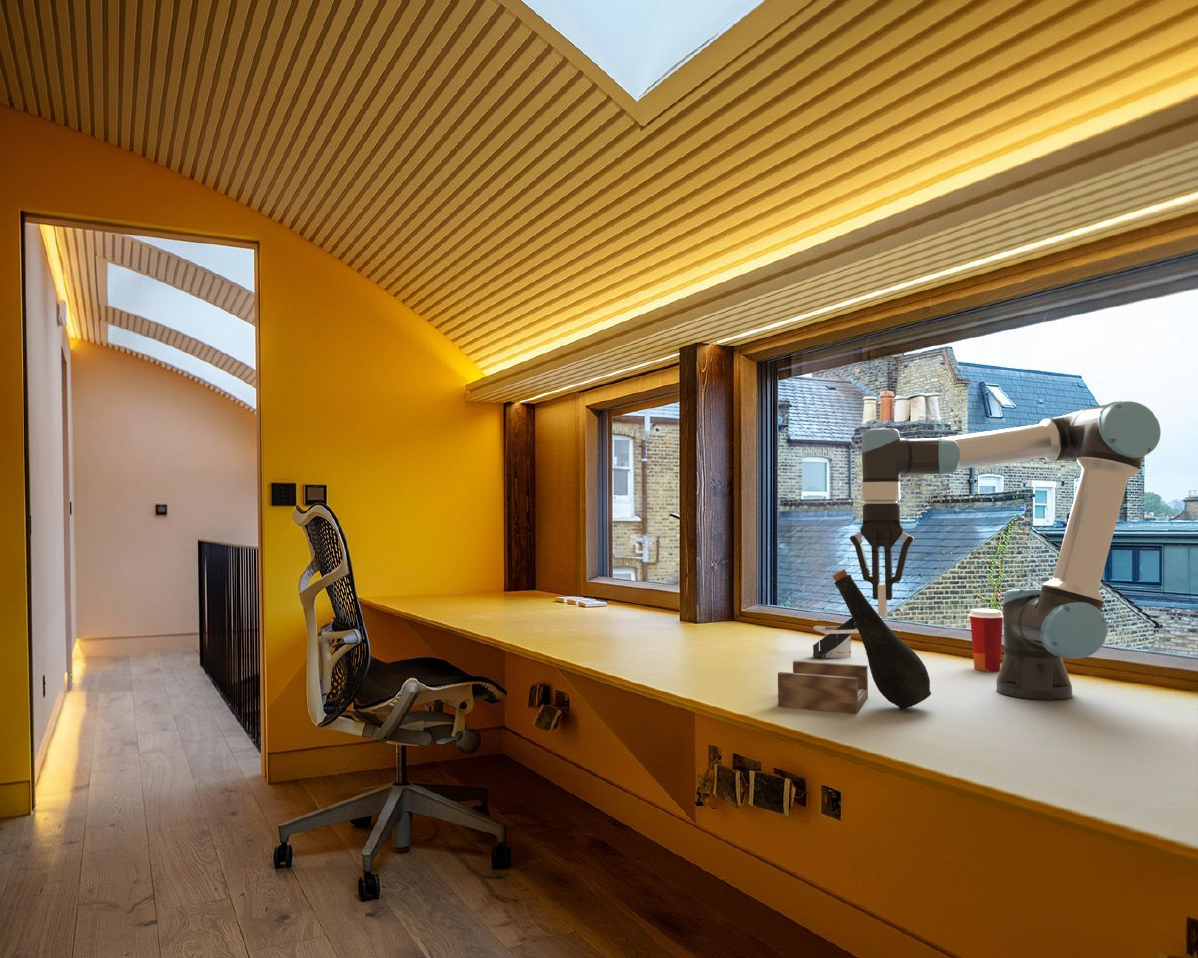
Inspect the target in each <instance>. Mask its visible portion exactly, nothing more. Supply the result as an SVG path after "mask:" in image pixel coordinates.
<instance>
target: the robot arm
mask: <svg viewBox="0 0 1198 958" xmlns="http://www.w3.org/2000/svg"><path fill="white" fill-rule="evenodd" d="M1160 440H1161V426H1160V422H1159V420H1158V418H1157V417H1156V416H1155V414H1154V413H1153V411H1152V410H1151V409H1150V408H1148V407H1147V406H1146V405H1144V404H1142V403H1139V402H1137V401H1131V400H1130V401H1129V400H1125V401H1122V400H1121V401H1112V402H1109V403H1108V404H1104V405H1098V406H1093V407H1092V406H1091V407H1087V408H1083V409H1081V410H1078V411H1074V412H1071V413H1068V414H1064V415H1061V416H1056V417H1052V418H1051V417H1050V418H1044V419H1042V420H1041V421H1040V423H1039V424H1032V425H1025V426H1019V427H1009V428H1003V429H997V430H989V431H988V430H987V431H982V432H975V433H968V434H960V435H953V436H945V437H936V438H935V437H934V438H931V437H930V438H904V437H902V438H901V436H900V431H899V429H897V428H871V429H870V428H869V429H867V430H865V431H864V432H863V433H862V438H861V441H862V442H861V451H860V453H861V462H862V463H861V464H862V465H861V466H862V468H861V469H862V470H861V471H862V483H861V484H862V490H861V491H862V501H863V502H865V503H864V504H863V505H862V525H861V527H860V531H859V532H857V533H856V534H853V535H851V536H850V537H849V540H850V542H851V543H852V545H853V546H854V548H855V552H856V556H857V560H858V564H859V568H860V571H861V575H862V579H863V580H864V581H865V582H868V583H870V584H871V586H872V599H873V600H877V614H878V616H880V617H883V618H885V617H887V616H888V601H892V599H893V585H894V584H896V583H899V582H900V581H901V580H902V577H903V573H904V570H905V564H906V561H907V558H908V553H909V549H910V546H911V545H912V543H914V540H915V537H914V536H912V535H909V534H908V533H906V532H905V531H904V529H903V526H902V523H901V505H900V503H898V502H899V501H900V500H901V478H900V477H902V478H907V477H913V476H922V475H923V476H925V475H939V476H940V475H941V476H942V475H949V474H950V475H951V474H954V473H955V472H957V470H963V469H964V470H965V469H970V468H978V467H979V468H980V467H985V466H994V465H1001V464H1008V463H1009V464H1010V463H1016V462H1023V461H1024V462H1025V461H1031V460H1036V459H1037V460H1039V459H1045V460H1046V461H1048V462H1058V461H1059V462H1060V461H1075V460H1076V462H1077V463H1078V465H1079V466H1080V468H1081V473H1080V477H1079V480H1078V483H1077V487H1076V490H1075V491H1076V492H1075V495H1074V499H1073V503H1072V506H1071V510H1070V514H1069V516H1068V517H1069V518H1068V520H1067V524H1066V525H1067V526H1066V527H1065V533H1064V535H1063V539H1062V543H1061V547H1060V550H1059V555H1058V559H1057V561H1056V566H1055V569H1054V573H1053V576H1052V578H1050V580H1048V581H1046V582H1043V584H1042V586H1041V588H1026V589H1025V588H1023V589H1021V588H1020V589H1019V588H1018V589H1008V590H1006V591H1005V592H1004V593H1003V601H1002V606H1001V607H1002V615H1003V621H1002V622H1003V648H1004V652H1003V653H1004V654H1003V660H1002V661H1001V665H1000V671H998V675H997V677H996V681H995V683H996V691H997V693H1001V694H1003V695H1006V696H1010V697H1015V698H1022V699H1029V700H1042V701H1043V700H1045V701H1046V700H1049V701H1051V700H1054V701H1056V700H1064V699H1069V698H1072V697H1073V686H1072V685H1073V684H1072V682H1071V679H1070V676H1069V674H1068V671H1067V667H1066V665H1065V663H1064V660H1063V658H1064V659H1071V660H1072V659H1073V660H1077V659H1078V660H1079V659H1080V660H1081V659H1085V658H1087V657H1089V656H1091V655H1093V654H1095V653H1096V652H1098V651H1099V650H1100V649H1101V648H1102V647H1103V645H1104V643H1105V641H1106V640H1107V636H1108V624H1107V621H1106V619H1105V617H1104V616H1105V615H1104V614H1103V612H1102V611H1103V608H1104V603H1105V599H1104V598H1103V596H1102V594H1101V593H1100V590H1099V589H1100V584H1101V581H1102V578H1103V574H1104V571H1105V570H1104V569H1105V566H1106V563H1107V560H1108V559H1107V558H1108V556H1109V553H1110V548H1111V544H1112V540H1113V536H1114V533H1115V530H1116V526H1117V522H1118V518H1119V514H1120V512H1121V511H1120V510H1121V507H1122V503H1123V499H1124V496H1125V492H1126V488H1127V484H1128V481H1129V479H1130V478H1131V477H1134V476H1135V475H1137V474H1138V473H1140V470H1141V467H1142V463H1143V459H1144V457H1145V456H1147V455H1149V454H1150V453H1152V452H1153V451H1154V450H1155V449H1156V448H1157V447H1158V444H1159V443H1160ZM900 537H901V540H900V542H901V544H902V545H901V547H900V548H901V550H900V553H899V557H898V561H897V565H896V569H895V574H894V576H893V546H894V545H895V544H896V543H897V542H898V540H899V538H900ZM863 538H864V539H865V540H866V541H867V543H868V544H869V545H870V547H871V550H870V551H871V574H870V570H869V566H868V562H867V557H866V554H865V550H864V547H863V544H862V543H863V542H864V540H863ZM880 547H882V548H884V549H883V550H884V583H880V582H881V580H880V549H881V548H880Z"/></svg>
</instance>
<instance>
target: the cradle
mask: <svg viewBox="0 0 1198 958" xmlns="http://www.w3.org/2000/svg"><path fill="white" fill-rule="evenodd" d="M868 667H869V665H867V664H866V665H865V664H853V663H852V664H851V663H850V664H849V663H837V662H836V663H835V662H834V663H833V662H824V661H823V662H819V661H806V660H793V661H792V672H788V671H786V672H785V671H779V672H777V704H778V705H777V707H778V708H789V709H790V708H791V709H799V710H810V711H811V710H812V711H821V710H824V711H823V712H832V711H836V712H835V713H843V712H845V713H844V714H855V715H856V714H858V713H859V712H860V710H861V708H863V706H864V704H865V703H866V701H867V700H868V698H869V680H868V679H869V677H868V676H869V675H868V674H869V672H868V671H869V669H868Z"/></svg>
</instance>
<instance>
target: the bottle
mask: <svg viewBox="0 0 1198 958" xmlns="http://www.w3.org/2000/svg"><path fill="white" fill-rule="evenodd" d="M852 577H853V576H852V575H851V574H848V573H847V571H846V568H844V569H842V570H840V571H837V573H835V574H833V575H832V578H833V579H834V580H835V582H834V586H836V588H837V589H838V592H839V593H840V595H841V598H842V599H843V601H844V602H845V603H844V604H845V605H846V607H847V609H848V612H849V613H850V615H851V618H853V620H854V624H856V627H857V629H858V631H859V633H858V634H859V636H860V639H861V641H862V644H863V646H864V649H865V653H866V657H867V662H868V667H869V669H870V674H871V676H872V679H873V682H874V684H875V686H876V688H877V690H878V691H879V693H881V695H882V696H883V697H884V699H886V700H887V701H888V702H889V703H891V704H893V705H894V706H896V707H898V708H899V709H900V710H906V709H908V708H911V707H914V706H916V705H918V704H919V703H921V702H923V701H925V700H926V699H928V698H929V697H930V696H931V695H932V692H931V689H930V688H931V687H930V686H931V680H930V676H929V672H928V670H927V667H926V666H925V664H924V663H923V660H922V659H921V658H920V657H919V655H917V653H916V652H915V651H914V650H913V649H912V648H911V647H910V646H909V645H907V644H906V642H905V641H903V640H902V639H901V638H899V637H898V635H896V633H895V632H893V630H892V629H891V628H890V627H889V626H888V625H887V624H886V622H884V620H883V619H882V618H881V616H878V612H877V611H876V610H875V609H874V608H873V606H872V605H871V603H870V602H869V600H867V598H866V597H865V596H864V594H863V592H862V591H861V590H860V588H859V586H858V585H857V583H856V582H855V581H854V579H853V578H852Z"/></svg>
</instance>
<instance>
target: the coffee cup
mask: <svg viewBox="0 0 1198 958" xmlns="http://www.w3.org/2000/svg"><path fill="white" fill-rule="evenodd" d="M967 616H969V619H970V620H969V621H970V631H971V633H970V634H971V644H972V656H973V658H972V659H973V665H974V666H973V667H974V670H976V671H979V672H986V673H987V672H989V673H991V672H992V673H995V672H999V671H1000V668H1001V665H1002V661H1001V660H1002V645H1003V644H1002V641H1003V639H1002V638H1003V622H1004V621H1003V610H1000V609H995V608H973V609H972V608H971V609H970V611H969V614H967Z"/></svg>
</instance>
